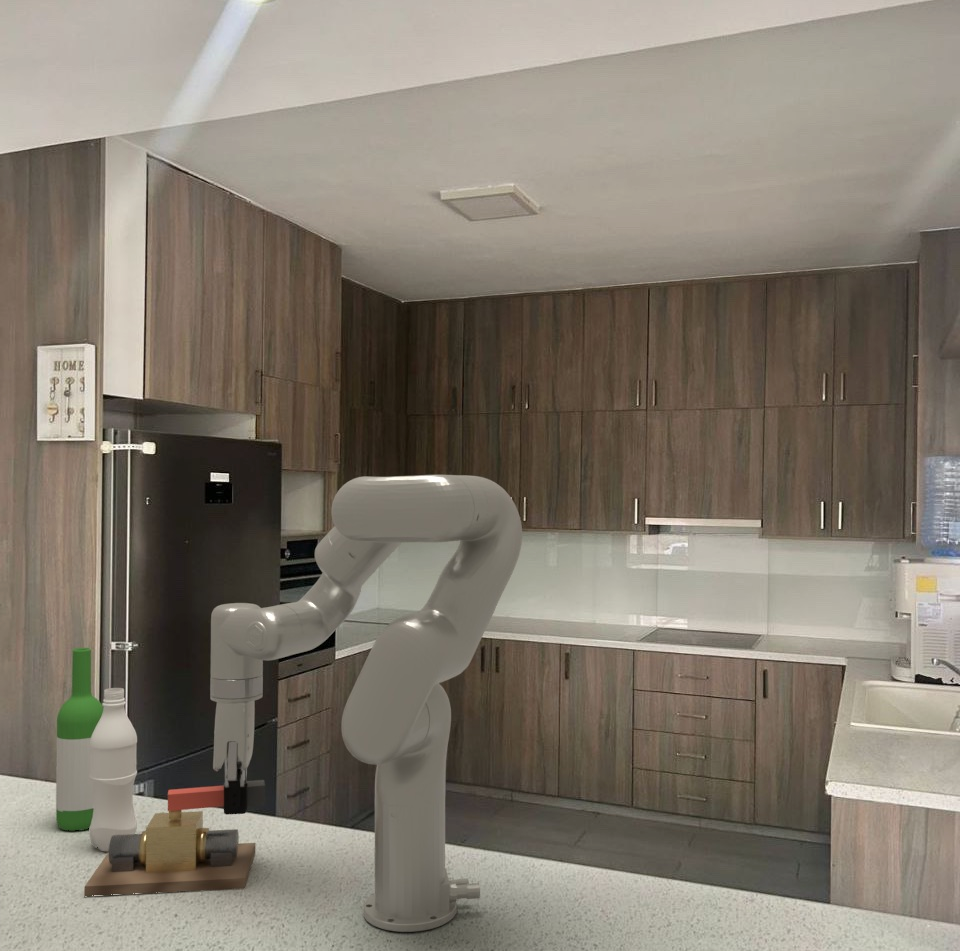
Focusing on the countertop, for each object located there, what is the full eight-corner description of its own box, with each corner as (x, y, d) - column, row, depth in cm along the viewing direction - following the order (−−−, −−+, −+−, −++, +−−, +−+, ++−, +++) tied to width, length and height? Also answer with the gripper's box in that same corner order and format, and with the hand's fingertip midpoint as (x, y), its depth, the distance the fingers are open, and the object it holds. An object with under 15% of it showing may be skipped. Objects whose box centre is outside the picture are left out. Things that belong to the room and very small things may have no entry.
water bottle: (144, 838, 156) (145, 685, 157) (124, 854, 149) (125, 694, 150) (102, 837, 157) (103, 684, 158) (80, 853, 150) (81, 693, 151)
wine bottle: (89, 834, 159) (90, 653, 159) (46, 831, 160) (47, 652, 161) (114, 818, 166) (114, 645, 167) (73, 816, 168) (74, 644, 168)
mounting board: (255, 852, 150) (255, 842, 150) (245, 888, 136) (245, 878, 136) (110, 859, 147) (110, 849, 147) (84, 897, 134) (84, 886, 134)
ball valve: (239, 852, 146) (239, 809, 146) (234, 868, 140) (234, 823, 140) (117, 858, 144) (117, 815, 144) (106, 875, 138) (106, 829, 138)
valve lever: (168, 814, 143) (168, 787, 143) (264, 806, 147) (264, 779, 147) (167, 821, 140) (167, 793, 140) (264, 812, 144) (264, 785, 144)
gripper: (217, 678, 148) (216, 797, 148) (202, 699, 133) (201, 831, 133) (266, 677, 149) (265, 795, 149) (257, 697, 134) (256, 829, 134)
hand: (235, 812), depth 141 cm, fingers closed
